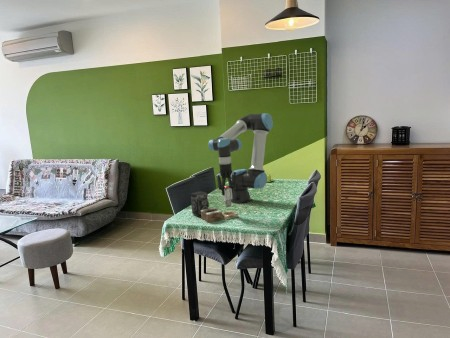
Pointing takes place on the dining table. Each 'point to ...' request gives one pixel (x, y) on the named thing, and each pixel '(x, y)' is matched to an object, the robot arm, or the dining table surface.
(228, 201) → the lock pin
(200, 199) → the camera
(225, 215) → the mount block
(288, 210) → the dining table surface
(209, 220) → the dock block
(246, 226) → the dining table surface
